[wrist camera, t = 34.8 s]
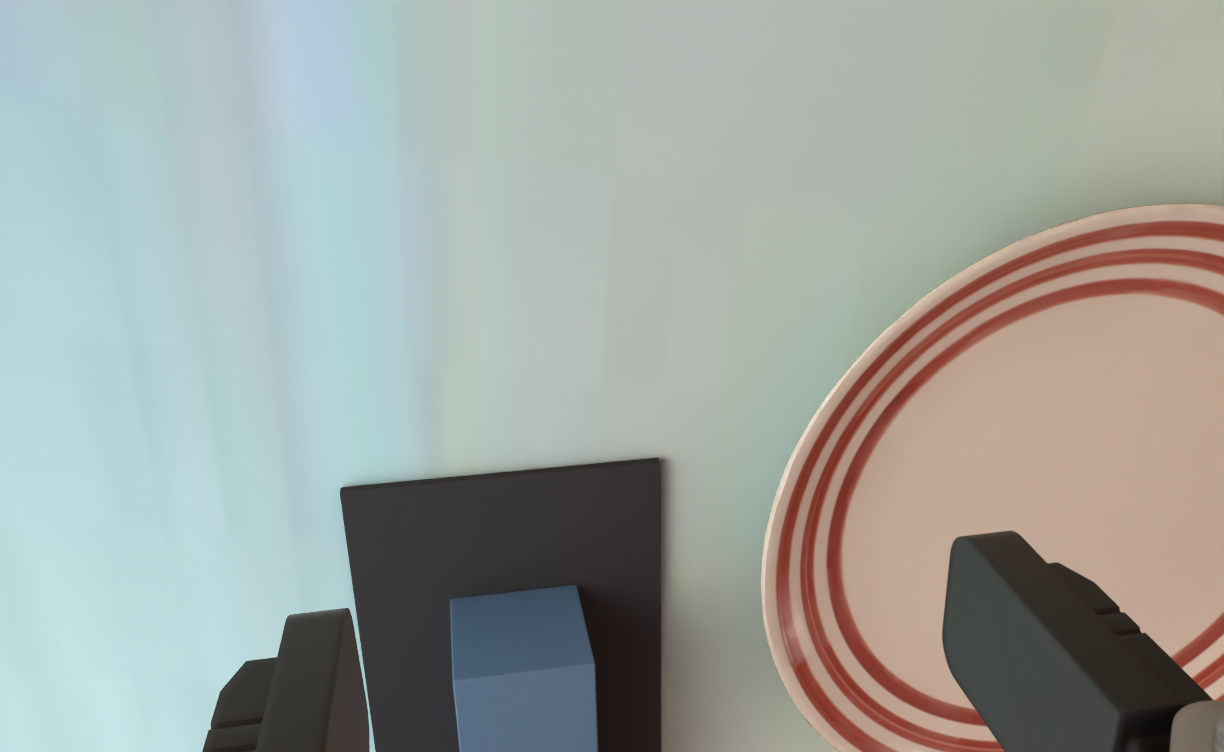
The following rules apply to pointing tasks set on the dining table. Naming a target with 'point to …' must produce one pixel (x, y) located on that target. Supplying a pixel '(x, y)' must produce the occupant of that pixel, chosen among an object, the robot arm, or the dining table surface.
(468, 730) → the blue block
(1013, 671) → the robot arm
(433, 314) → the dining table surface
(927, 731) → the dinner plate
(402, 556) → the mat
